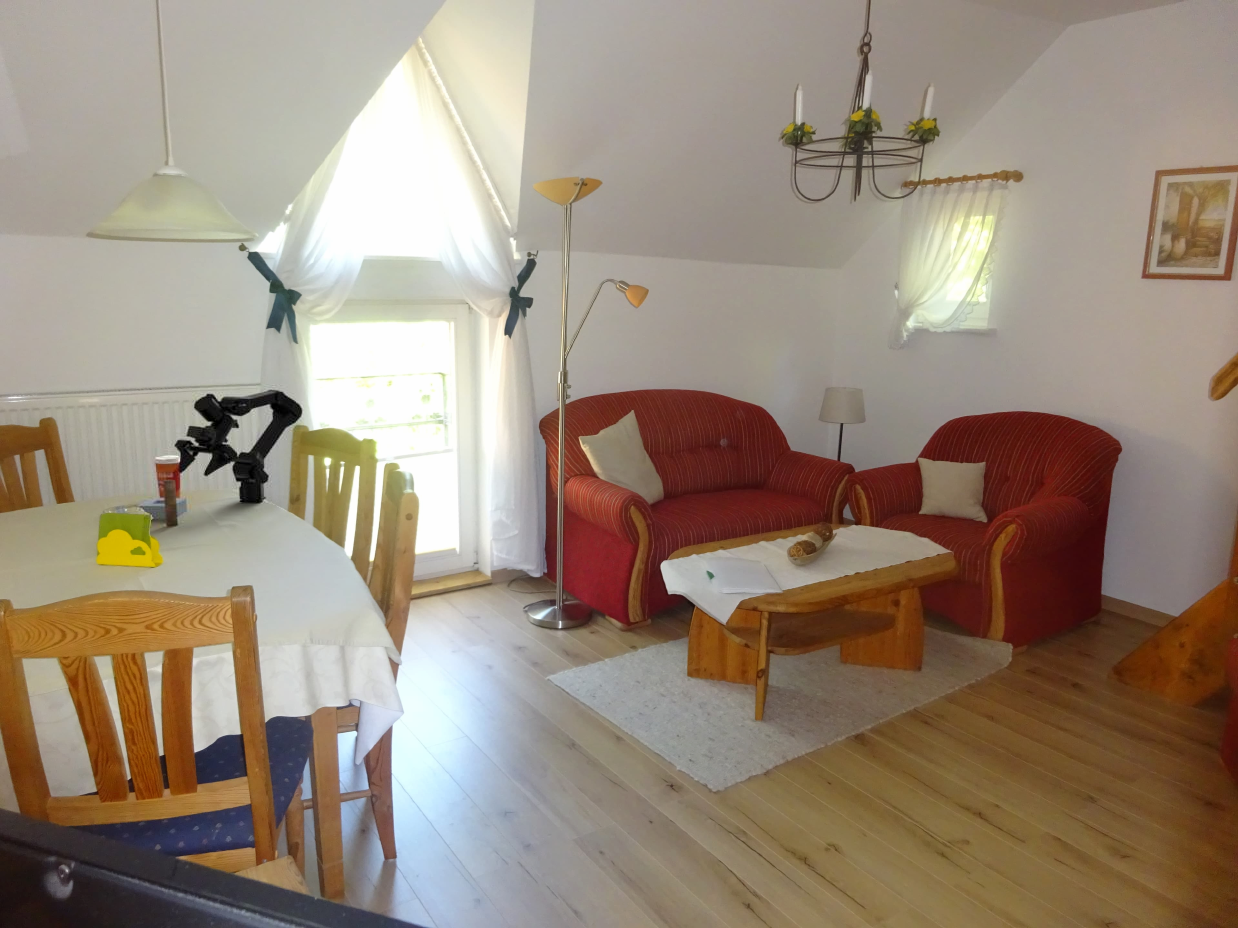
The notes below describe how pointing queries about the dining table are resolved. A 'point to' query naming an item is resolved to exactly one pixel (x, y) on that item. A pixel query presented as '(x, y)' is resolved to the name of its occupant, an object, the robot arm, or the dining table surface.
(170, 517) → the dowel
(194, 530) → the dining table surface
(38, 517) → the dining table surface
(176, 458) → the paper cup
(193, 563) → the dining table surface
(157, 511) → the socket block
